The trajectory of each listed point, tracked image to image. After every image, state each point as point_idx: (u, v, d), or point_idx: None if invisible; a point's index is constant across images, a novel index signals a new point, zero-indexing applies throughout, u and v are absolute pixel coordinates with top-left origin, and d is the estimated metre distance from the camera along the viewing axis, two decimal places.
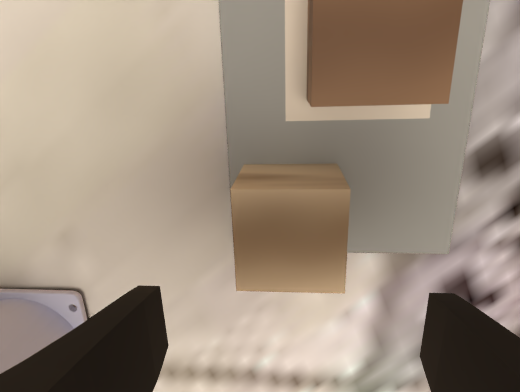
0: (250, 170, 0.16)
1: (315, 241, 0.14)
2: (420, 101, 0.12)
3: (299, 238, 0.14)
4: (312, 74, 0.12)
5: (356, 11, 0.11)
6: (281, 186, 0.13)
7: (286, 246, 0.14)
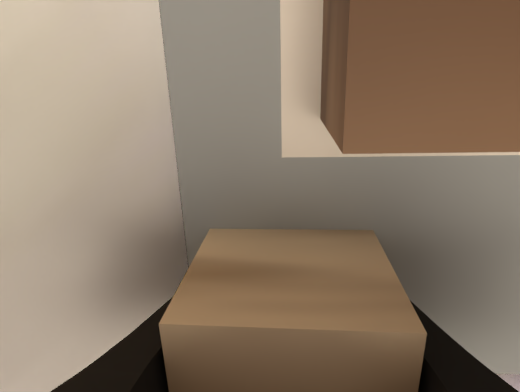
0: (217, 248, 0.09)
1: None
2: None
3: None
4: (348, 71, 0.04)
5: None
6: (271, 312, 0.06)
7: None
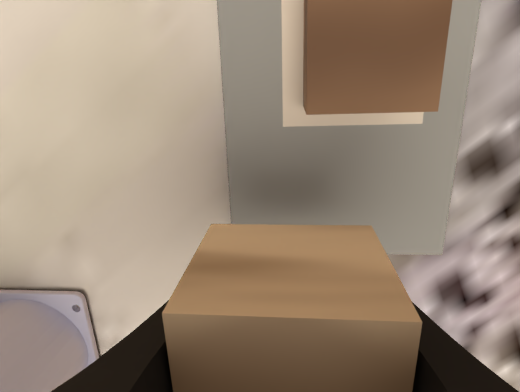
0: (218, 242, 0.09)
1: None
2: (411, 109, 0.12)
3: None
4: (307, 83, 0.12)
5: (348, 23, 0.11)
6: (270, 302, 0.06)
7: None
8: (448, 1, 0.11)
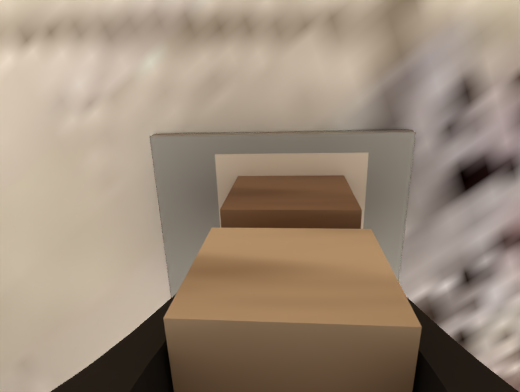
0: (219, 246, 0.09)
1: None
2: None
3: None
4: None
5: None
6: (271, 307, 0.06)
7: None
8: None
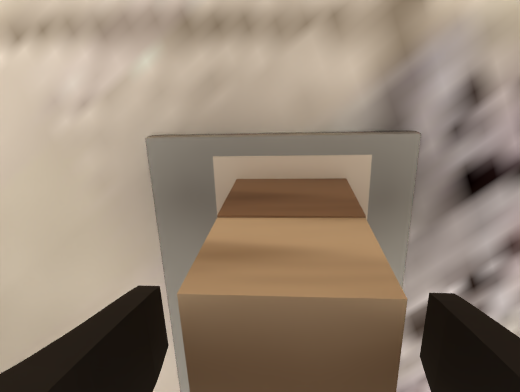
0: (224, 233, 0.10)
1: (336, 383, 0.07)
2: None
3: (307, 378, 0.07)
4: None
5: None
6: (273, 284, 0.07)
7: (284, 390, 0.08)
8: None
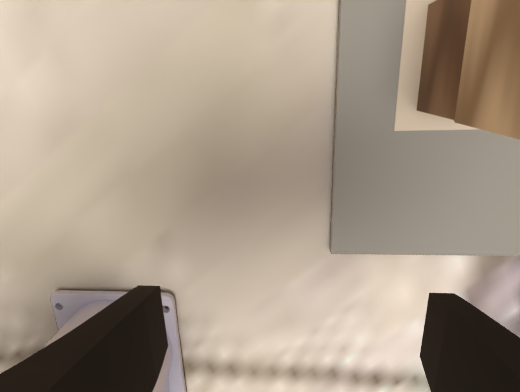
0: None
1: None
2: None
3: None
4: (458, 90, 0.13)
5: None
6: None
7: None
8: None
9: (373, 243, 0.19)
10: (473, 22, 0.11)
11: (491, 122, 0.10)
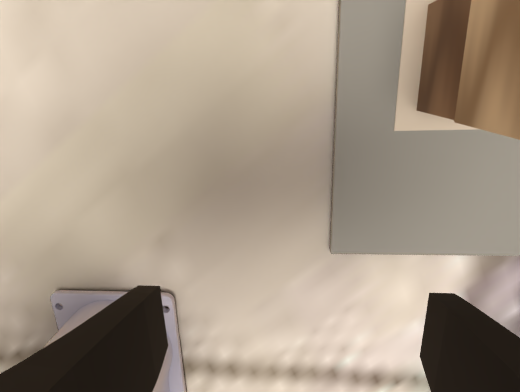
0: None
1: None
2: None
3: None
4: (458, 90, 0.13)
5: None
6: None
7: None
8: None
9: (373, 243, 0.19)
10: (473, 22, 0.11)
11: (491, 122, 0.10)
